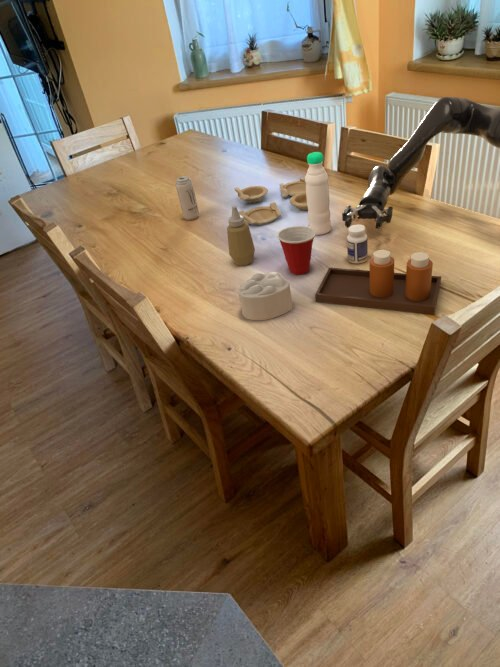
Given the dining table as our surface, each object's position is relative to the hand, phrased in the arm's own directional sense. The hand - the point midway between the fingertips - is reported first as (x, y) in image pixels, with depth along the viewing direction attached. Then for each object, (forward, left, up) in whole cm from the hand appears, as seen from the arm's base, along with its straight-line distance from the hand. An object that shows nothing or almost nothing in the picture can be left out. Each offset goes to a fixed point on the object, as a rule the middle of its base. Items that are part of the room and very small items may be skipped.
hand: (362, 225), depth 143 cm
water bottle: (+16, -10, -8) cm, 21 cm away
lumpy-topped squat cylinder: (+18, +34, -8) cm, 39 cm away
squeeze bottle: (+34, +12, -8) cm, 37 cm away
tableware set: (+37, -29, -8) cm, 48 cm away
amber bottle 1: (-10, +22, -7) cm, 25 cm away
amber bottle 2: (-19, +22, -7) cm, 30 cm away
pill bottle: (0, +6, -8) cm, 10 cm away
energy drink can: (+67, -15, -8) cm, 69 cm away
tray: (-9, +22, -8) cm, 25 cm away
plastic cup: (+15, +14, -8) cm, 22 cm away
